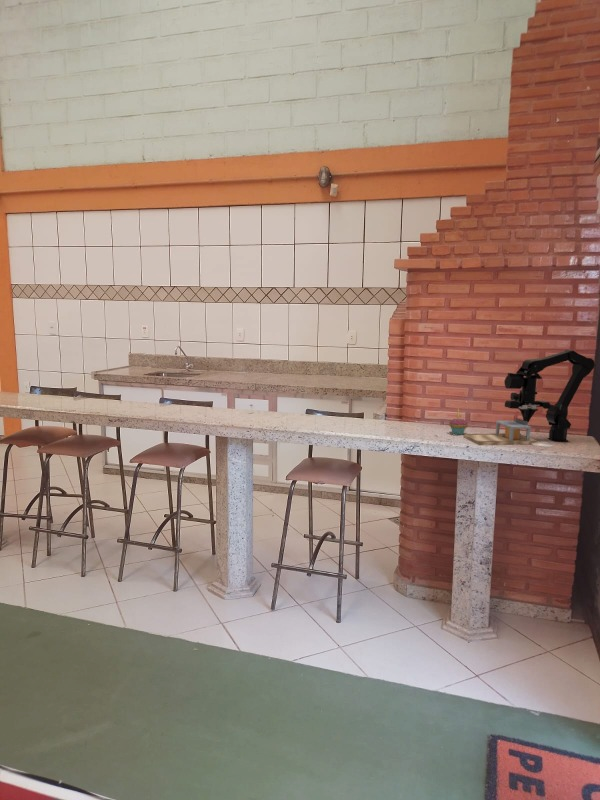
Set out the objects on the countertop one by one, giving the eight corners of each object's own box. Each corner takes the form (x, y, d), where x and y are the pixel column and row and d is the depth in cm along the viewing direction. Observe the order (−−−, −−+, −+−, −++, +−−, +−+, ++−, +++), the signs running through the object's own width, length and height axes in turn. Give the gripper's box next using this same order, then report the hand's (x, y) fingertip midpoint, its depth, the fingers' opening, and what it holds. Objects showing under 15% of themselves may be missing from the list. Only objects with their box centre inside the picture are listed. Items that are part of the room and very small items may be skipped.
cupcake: (446, 432, 270) (447, 406, 268) (463, 432, 270) (465, 407, 269) (452, 435, 261) (453, 409, 259) (470, 435, 262) (472, 410, 260)
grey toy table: (513, 433, 260) (514, 417, 259) (530, 440, 246) (531, 423, 245) (494, 433, 259) (496, 417, 258) (510, 440, 245) (511, 423, 244)
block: (514, 439, 255) (515, 425, 254) (519, 441, 251) (520, 427, 250) (504, 439, 255) (505, 425, 254) (509, 441, 250) (510, 427, 249)
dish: (545, 442, 250) (546, 441, 250) (557, 447, 241) (558, 445, 241) (526, 443, 249) (526, 441, 249) (538, 447, 240) (538, 446, 240)
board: (519, 437, 262) (519, 433, 261) (538, 444, 246) (539, 440, 246) (463, 437, 258) (463, 433, 258) (479, 445, 242) (479, 441, 242)
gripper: (538, 386, 259) (535, 420, 262) (499, 386, 257) (497, 420, 259) (552, 389, 249) (549, 425, 251) (512, 389, 246) (509, 425, 248)
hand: (525, 423), depth 252 cm, fingers closed
